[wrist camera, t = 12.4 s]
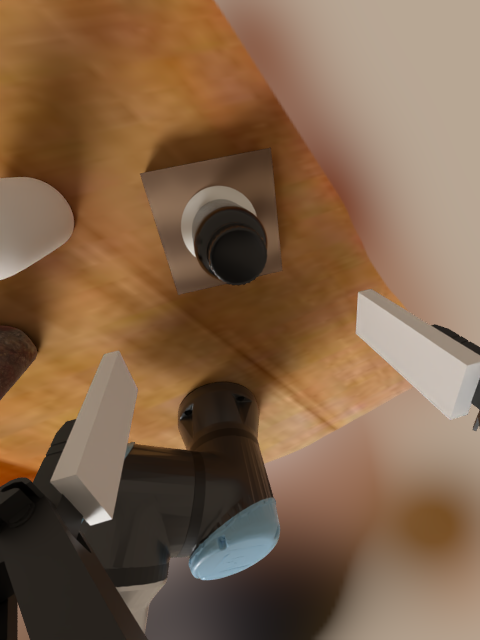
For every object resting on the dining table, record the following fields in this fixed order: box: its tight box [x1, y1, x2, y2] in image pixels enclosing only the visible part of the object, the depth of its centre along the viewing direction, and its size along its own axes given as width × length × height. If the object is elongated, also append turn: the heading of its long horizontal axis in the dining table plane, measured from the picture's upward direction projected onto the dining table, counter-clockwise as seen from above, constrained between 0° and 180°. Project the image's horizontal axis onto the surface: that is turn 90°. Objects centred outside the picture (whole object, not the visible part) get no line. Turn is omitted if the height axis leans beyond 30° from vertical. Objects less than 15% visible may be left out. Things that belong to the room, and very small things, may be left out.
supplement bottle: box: [192, 199, 268, 285], centre depth 27 cm, size 7×7×12 cm
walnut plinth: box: [140, 148, 282, 295], centre depth 34 cm, size 14×14×4 cm
